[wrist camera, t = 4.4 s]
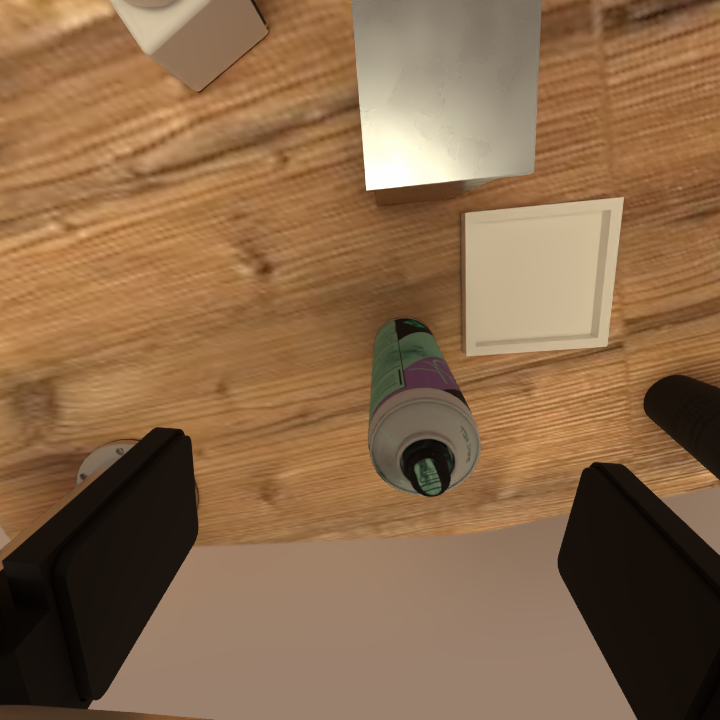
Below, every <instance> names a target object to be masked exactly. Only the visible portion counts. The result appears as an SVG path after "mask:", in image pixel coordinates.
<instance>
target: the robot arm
mask: <svg viewBox="0 0 720 720" xmlns="http://www.w3.org/2000/svg"><path fill="white" fill-rule="evenodd" d="M197 506H198V494H197V490H196V486H195V480H194V468H193V456H192V444H191V439H190V437H189V436H185V434H184V432H183V430H181V429H173V428H160V427H156V428H154V429H153V430H152V431H150V432H149V433H148V434H147V435H146V436H145V437H144V438H142V439H141V440H140V441H135V440H119V441H114V442H110V443H107V444H105V445H103V446H101V447H99V448H98V449H96V450H95V451H94V452H92V453H91V454H90V455H89V456H88V457H87V458H86V459H85V460H84V461H83V463H82V464H81V466H80V468H79V470H78V473H77V482H76V487H75V488H74V489H72V490H71V491H70V492H69V493H68V494H66V495H65V496H64V497H63V498H62V499H61V500H59V501H58V502H57V503H56V504H55V505H53V506H52V507H51V508H50V509H49V510H47V511H46V512H45V513H44V514H43V515H41V516H40V517H39V518H38V519H37V520H35V521H34V522H33V523H32V524H31V525H30V526H28V527H27V528H26V529H25V530H24V531H22V532H21V533H20V534H19V535H18V536H16V537H15V538H14V539H13V540H12V541H10V542H9V543H8V544H7V545H6V546H4V547H3V548H2V549H1V550H0V720H212V719H201V718H190V717H189V718H188V717H179V716H167V715H156V714H144V713H134V712H119V711H104V710H90V709H88V707H89V706H90V704H91V702H92V701H93V700H98V699H100V698H101V697H102V696H103V695H104V694H105V692H106V691H107V690H108V688H109V686H110V684H111V683H112V681H113V680H114V678H115V676H116V675H117V673H118V671H119V670H120V668H121V666H122V664H123V663H124V661H125V659H126V658H127V656H128V654H129V653H130V651H131V649H132V648H133V646H134V644H135V643H136V641H137V639H138V637H139V636H140V634H141V632H142V631H143V629H144V627H145V626H146V624H147V622H148V621H149V619H150V617H151V615H152V614H153V612H154V610H155V609H156V607H157V605H158V604H159V602H160V600H161V599H162V597H163V595H164V594H165V592H166V590H167V588H168V587H169V585H170V583H171V582H172V580H173V578H174V577H175V575H176V573H177V572H178V570H179V568H180V567H181V565H182V563H183V562H184V560H185V558H186V556H187V555H188V553H189V551H190V550H191V548H192V546H193V545H194V543H195V541H196V538H197V534H198V515H197ZM558 569H559V572H560V575H561V577H562V579H563V581H564V582H565V584H566V586H567V588H568V590H569V592H570V594H571V596H572V598H573V599H574V601H575V603H576V605H577V607H578V609H579V611H580V612H581V614H582V616H583V618H584V620H585V622H586V624H587V626H588V628H589V629H590V631H591V633H592V635H593V637H594V639H595V641H596V642H597V644H598V646H599V648H600V650H601V652H602V654H603V656H604V658H605V659H606V661H607V663H608V665H609V667H610V669H611V671H612V673H613V674H614V676H615V678H616V680H617V682H618V684H619V686H620V687H621V689H622V691H623V693H624V695H625V697H626V699H627V701H628V703H629V704H630V706H631V708H632V710H633V712H634V714H635V716H636V717H637V719H638V720H720V555H718V553H716V552H715V551H714V550H713V549H712V548H711V547H710V546H709V545H708V544H707V543H706V542H705V541H704V540H703V539H702V538H701V537H700V536H698V535H697V534H696V533H695V532H694V531H693V530H692V529H691V528H690V527H689V526H688V525H687V524H686V523H685V522H684V521H683V520H681V519H680V518H679V517H678V516H677V515H676V514H675V513H674V512H673V511H672V510H671V509H670V508H669V507H668V506H667V505H666V504H664V503H663V502H662V501H661V500H660V499H659V498H658V497H657V496H656V495H655V494H654V493H653V492H652V491H651V490H650V489H649V488H648V487H647V486H645V485H644V484H643V483H642V482H641V481H640V480H639V479H638V478H637V477H636V476H635V475H634V474H633V473H632V472H631V471H630V470H629V469H627V468H626V467H625V466H624V465H622V464H613V463H601V462H594V463H592V464H591V465H590V467H589V468H585V469H584V470H583V472H582V474H581V478H580V481H579V485H578V488H577V492H576V495H575V499H574V502H573V506H572V509H571V513H570V516H569V520H568V523H567V527H566V531H565V535H564V538H563V541H562V545H561V548H560V552H559V555H558Z"/></svg>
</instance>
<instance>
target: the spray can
mask: <svg viewBox="0 0 720 720" xmlns="http://www.w3.org/2000/svg"><path fill="white" fill-rule="evenodd" d="M368 445H369V450H370V456H371V460H372V463H373V466H374V468H375V469H376V471H377V473H378V474H379V475H380V477H381V478H382V479H383V480H384V481H385V482H386V483H388V484H389V485H390V486H392V487H393V488H395V489H397V490H399V491H402V492H405V493H408V494H412V495H419V496H428V497H433V496H438V495H440V494H442V493H444V492H447V491H449V490H451V489H453V488H455V487H457V486H459V485H460V484H461V483H462V482H464V481H465V480H466V479H467V478H468V477H469V476H470V474H471V473H472V472H473V470H474V469H475V467H476V465H477V463H478V460H479V456H480V449H481V442H480V437H479V432H478V427H477V424H476V421H475V419H474V417H473V415H472V413H471V411H470V409H469V407H468V405H467V403H466V401H465V399H464V397H463V395H462V393H461V391H460V389H459V387H458V385H457V383H456V381H455V379H454V377H453V375H452V373H451V371H450V369H449V367H448V365H447V363H446V361H445V359H444V357H443V355H442V353H441V351H440V349H439V347H438V345H437V343H436V341H435V339H434V337H433V335H432V333H431V331H430V330H429V328H428V327H427V326H426V325H425V324H424V323H423V322H421V321H419V320H417V319H415V318H411V317H398V318H394V319H392V320H390V321H388V322H387V323H385V324H384V325H383V326H382V327H381V328H380V330H379V331H378V333H377V335H376V338H375V341H374V350H373V366H372V382H371V398H370V415H369V431H368Z"/></svg>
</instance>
